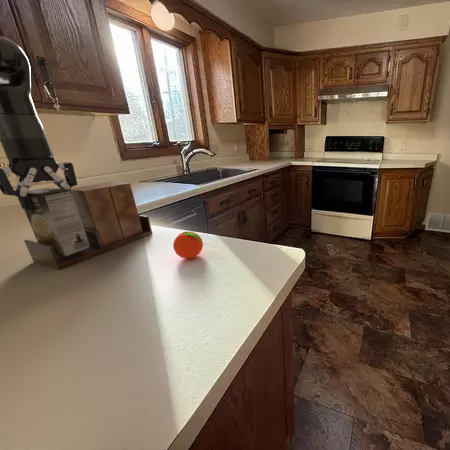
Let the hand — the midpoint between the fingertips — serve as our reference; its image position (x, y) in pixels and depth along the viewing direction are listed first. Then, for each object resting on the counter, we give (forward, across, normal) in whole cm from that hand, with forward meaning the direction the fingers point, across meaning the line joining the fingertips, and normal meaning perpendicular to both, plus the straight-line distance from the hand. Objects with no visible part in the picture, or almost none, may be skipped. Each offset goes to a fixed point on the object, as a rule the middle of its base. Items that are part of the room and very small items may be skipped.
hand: (50, 207), depth 61 cm
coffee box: (+12, 0, 0) cm, 12 cm away
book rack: (+14, -8, 0) cm, 16 cm away
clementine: (+14, -12, +32) cm, 37 cm away
